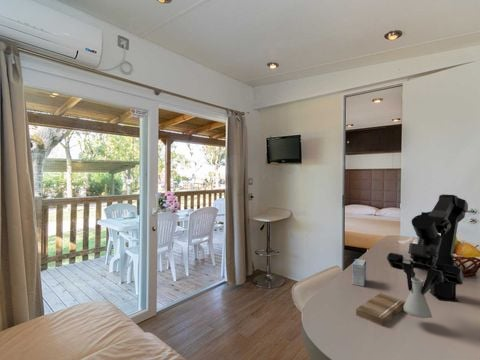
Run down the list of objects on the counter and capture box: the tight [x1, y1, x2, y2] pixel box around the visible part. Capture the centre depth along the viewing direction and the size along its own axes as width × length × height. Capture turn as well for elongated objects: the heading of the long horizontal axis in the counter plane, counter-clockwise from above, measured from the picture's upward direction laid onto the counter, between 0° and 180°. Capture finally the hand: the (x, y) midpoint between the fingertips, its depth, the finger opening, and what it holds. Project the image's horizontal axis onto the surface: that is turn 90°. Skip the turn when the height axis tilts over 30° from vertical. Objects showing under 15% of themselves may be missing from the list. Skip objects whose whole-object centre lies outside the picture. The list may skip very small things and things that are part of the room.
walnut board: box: [355, 292, 406, 327], centre depth 84 cm, size 18×8×2 cm, turn 129°
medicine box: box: [351, 258, 367, 288], centre depth 107 cm, size 8×4×9 cm, turn 148°
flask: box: [403, 277, 433, 319], centre depth 77 cm, size 7×7×10 cm
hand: (415, 292), depth 76 cm, fingers closed on flask, 3 cm apart
